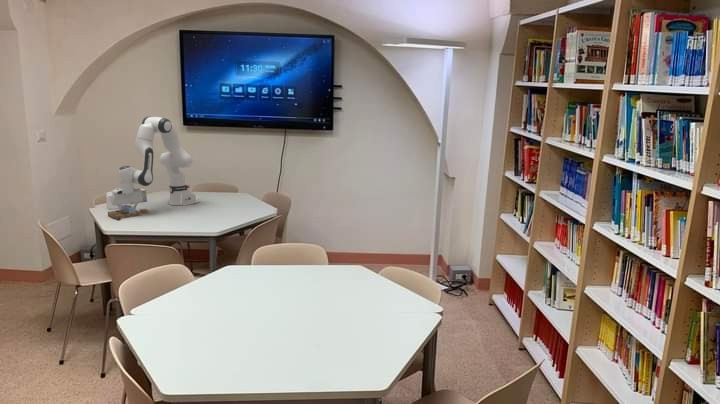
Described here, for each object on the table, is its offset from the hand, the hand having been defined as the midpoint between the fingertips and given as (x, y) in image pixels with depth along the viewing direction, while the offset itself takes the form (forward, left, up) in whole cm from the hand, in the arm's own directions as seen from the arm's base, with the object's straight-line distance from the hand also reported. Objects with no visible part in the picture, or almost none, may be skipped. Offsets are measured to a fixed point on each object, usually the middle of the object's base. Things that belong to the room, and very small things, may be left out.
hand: (128, 209), depth 350 cm
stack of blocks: (-18, -37, -4) cm, 41 cm away
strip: (0, 0, -3) cm, 3 cm away
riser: (-11, 0, -4) cm, 12 cm away
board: (+3, 0, -4) cm, 5 cm away
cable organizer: (-3, -25, -4) cm, 26 cm away
